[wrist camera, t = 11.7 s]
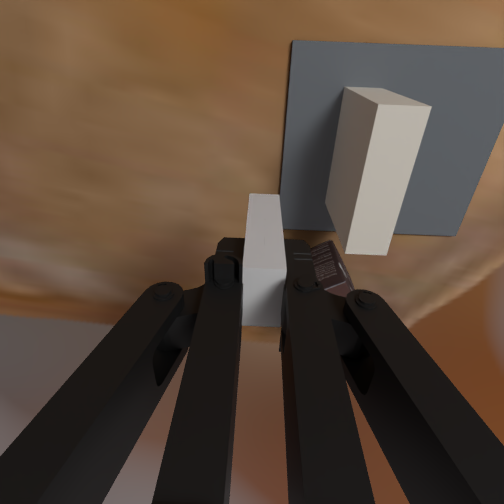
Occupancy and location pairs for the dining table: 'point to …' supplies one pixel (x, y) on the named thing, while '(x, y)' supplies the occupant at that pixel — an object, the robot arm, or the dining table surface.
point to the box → (331, 269)
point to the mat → (434, 138)
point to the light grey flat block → (372, 165)
